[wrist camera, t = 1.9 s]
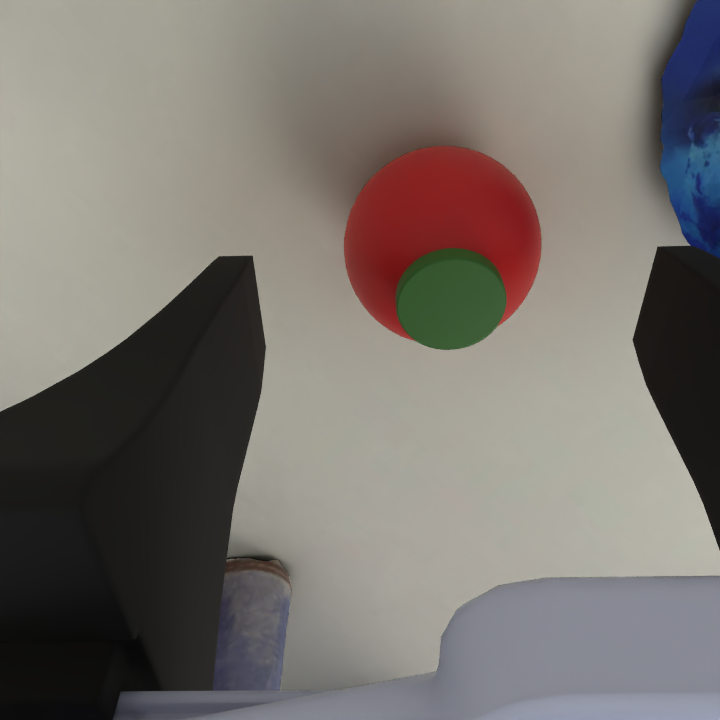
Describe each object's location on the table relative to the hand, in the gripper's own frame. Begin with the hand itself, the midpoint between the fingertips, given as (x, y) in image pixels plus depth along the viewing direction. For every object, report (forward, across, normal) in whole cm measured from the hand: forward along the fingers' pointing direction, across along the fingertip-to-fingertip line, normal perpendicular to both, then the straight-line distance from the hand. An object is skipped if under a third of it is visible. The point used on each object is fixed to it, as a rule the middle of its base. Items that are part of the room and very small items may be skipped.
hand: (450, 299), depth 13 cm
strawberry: (+4, 0, 0) cm, 4 cm away
